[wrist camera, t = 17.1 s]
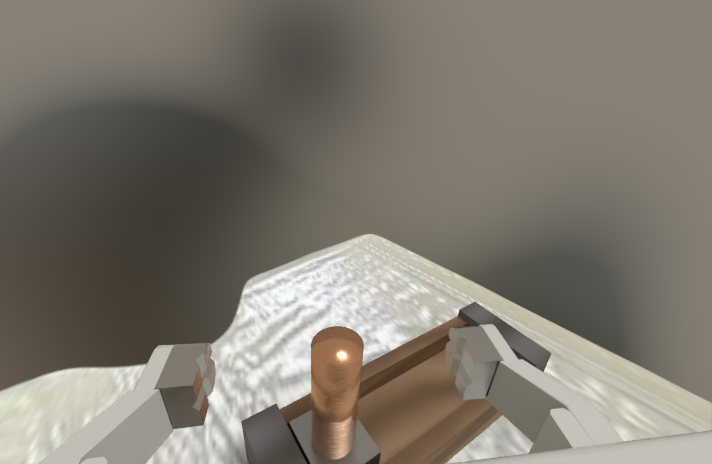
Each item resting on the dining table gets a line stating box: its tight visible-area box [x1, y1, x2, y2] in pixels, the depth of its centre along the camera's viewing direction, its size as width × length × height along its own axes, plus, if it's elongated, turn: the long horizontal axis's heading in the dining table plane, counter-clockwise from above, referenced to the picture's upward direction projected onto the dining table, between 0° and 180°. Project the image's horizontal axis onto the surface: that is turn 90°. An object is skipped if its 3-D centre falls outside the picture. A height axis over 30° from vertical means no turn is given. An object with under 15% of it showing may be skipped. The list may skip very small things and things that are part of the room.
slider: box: [289, 326, 381, 464], centre depth 25 cm, size 6×5×13 cm
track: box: [242, 302, 551, 464], centre depth 33 cm, size 10×30×5 cm, turn 124°
